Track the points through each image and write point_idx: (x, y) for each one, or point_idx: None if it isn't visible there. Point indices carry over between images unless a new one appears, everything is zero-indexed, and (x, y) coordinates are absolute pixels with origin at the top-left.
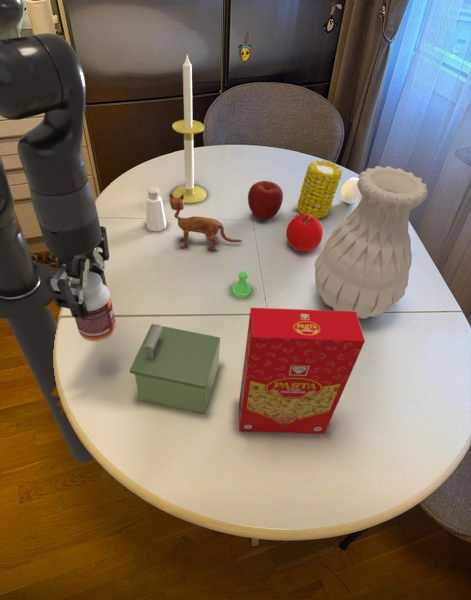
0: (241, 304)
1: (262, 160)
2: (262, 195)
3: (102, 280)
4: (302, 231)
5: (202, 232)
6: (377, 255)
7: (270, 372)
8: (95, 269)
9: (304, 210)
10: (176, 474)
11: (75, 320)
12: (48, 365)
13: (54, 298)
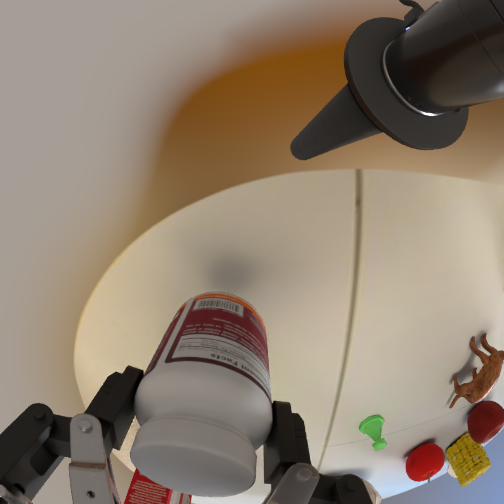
0: (348, 426)
1: None
2: (486, 432)
3: (264, 455)
4: (419, 472)
5: (476, 378)
6: None
7: None
8: (275, 483)
9: (459, 444)
10: (96, 364)
11: (186, 318)
12: (329, 123)
13: (5, 435)
